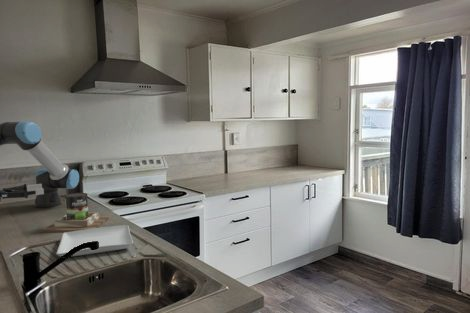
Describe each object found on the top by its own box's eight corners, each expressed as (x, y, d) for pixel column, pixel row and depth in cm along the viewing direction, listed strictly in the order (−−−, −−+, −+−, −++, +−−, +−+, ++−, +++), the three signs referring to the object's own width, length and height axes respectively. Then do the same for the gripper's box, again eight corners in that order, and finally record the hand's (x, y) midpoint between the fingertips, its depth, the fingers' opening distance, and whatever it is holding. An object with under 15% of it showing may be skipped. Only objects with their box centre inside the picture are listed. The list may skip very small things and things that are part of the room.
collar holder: (65, 218, 191) (64, 211, 190) (110, 217, 191) (110, 210, 190) (41, 232, 167) (40, 224, 166) (93, 231, 167) (92, 222, 166)
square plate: (63, 240, 156) (62, 231, 155) (128, 232, 165) (128, 223, 165) (56, 262, 130) (55, 252, 130) (134, 251, 140) (133, 241, 140)
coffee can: (92, 222, 178) (90, 194, 177) (70, 226, 171) (68, 197, 170) (84, 218, 186) (83, 191, 184) (63, 222, 179) (61, 194, 178)
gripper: (-8, 198, 173) (41, 192, 184) (-12, 208, 152) (45, 201, 163) (-10, 182, 172) (40, 177, 183) (-14, 191, 151) (43, 185, 162)
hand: (42, 188), depth 173 cm, fingers open, 13 cm apart
